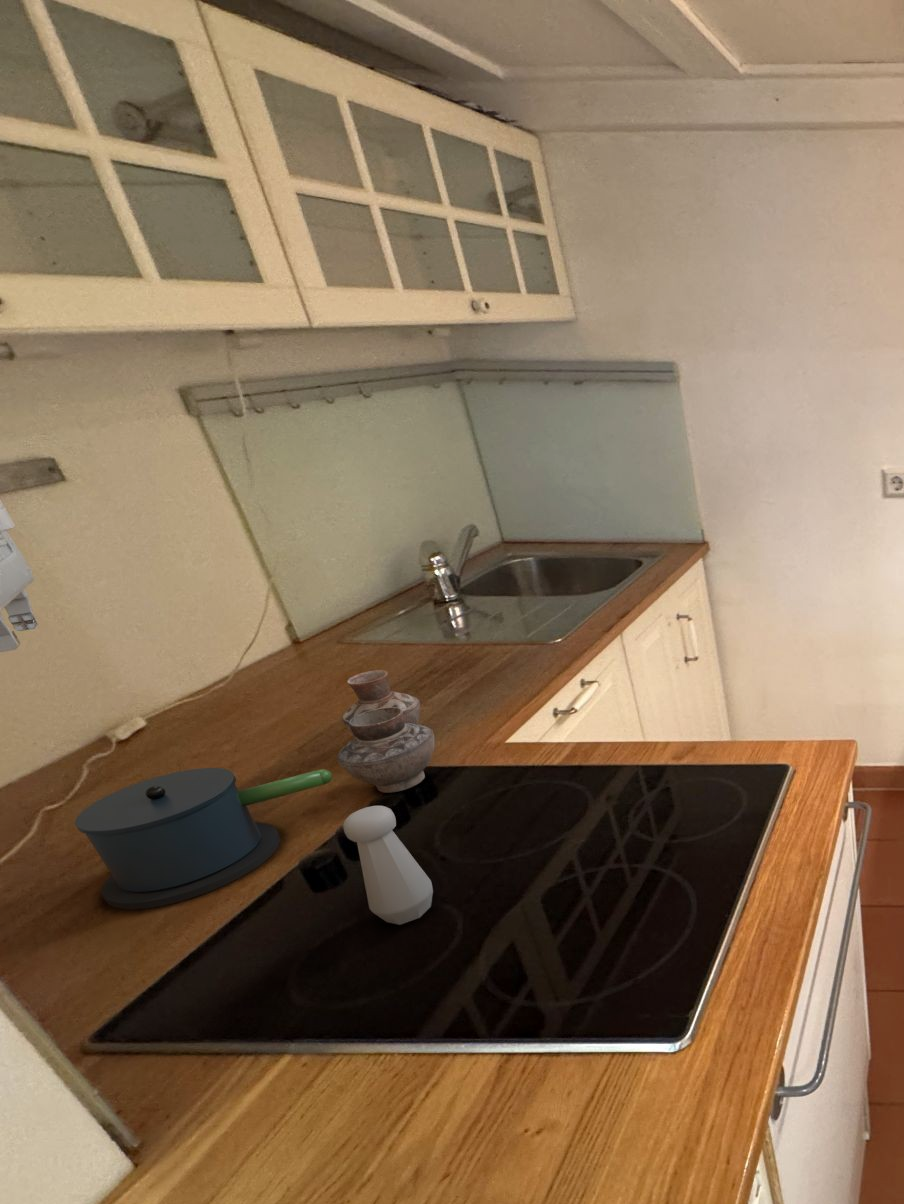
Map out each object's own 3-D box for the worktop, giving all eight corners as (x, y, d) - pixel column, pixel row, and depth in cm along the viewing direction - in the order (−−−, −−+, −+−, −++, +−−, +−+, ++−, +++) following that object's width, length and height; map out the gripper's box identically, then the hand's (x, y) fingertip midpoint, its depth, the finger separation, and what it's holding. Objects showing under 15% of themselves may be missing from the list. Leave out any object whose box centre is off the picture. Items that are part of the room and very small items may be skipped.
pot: (102, 910, 84) (52, 835, 80) (126, 852, 94) (83, 782, 90) (349, 834, 96) (317, 766, 92) (347, 790, 106) (319, 726, 102)
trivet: (94, 930, 83) (89, 923, 83) (115, 862, 95) (111, 855, 94) (281, 869, 92) (277, 862, 92) (280, 813, 104) (277, 807, 103)
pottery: (432, 724, 127) (407, 658, 122) (452, 784, 109) (424, 709, 104) (349, 746, 121) (319, 677, 116) (356, 814, 103) (320, 735, 98)
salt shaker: (441, 915, 84) (399, 816, 78) (378, 938, 81) (330, 836, 75) (437, 888, 88) (397, 792, 82) (377, 908, 85) (331, 810, 79)
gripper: (-68, 510, 89) (1, 623, 95) (-134, 539, 74) (-47, 670, 80) (12, 502, 92) (74, 611, 98) (-36, 528, 78) (40, 654, 84)
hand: (19, 638), depth 89 cm, fingers open, 8 cm apart
